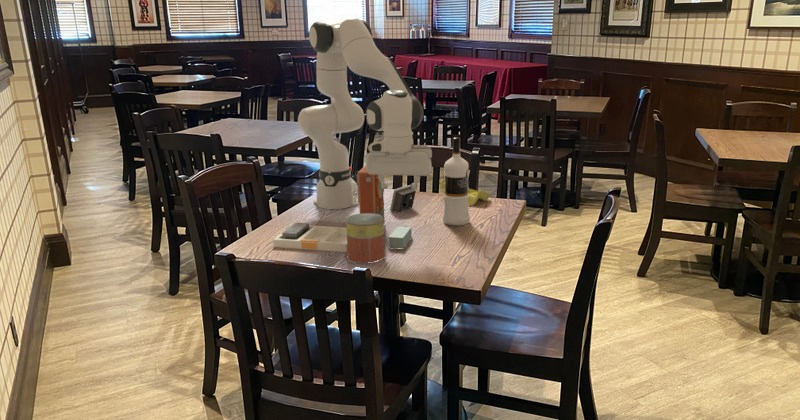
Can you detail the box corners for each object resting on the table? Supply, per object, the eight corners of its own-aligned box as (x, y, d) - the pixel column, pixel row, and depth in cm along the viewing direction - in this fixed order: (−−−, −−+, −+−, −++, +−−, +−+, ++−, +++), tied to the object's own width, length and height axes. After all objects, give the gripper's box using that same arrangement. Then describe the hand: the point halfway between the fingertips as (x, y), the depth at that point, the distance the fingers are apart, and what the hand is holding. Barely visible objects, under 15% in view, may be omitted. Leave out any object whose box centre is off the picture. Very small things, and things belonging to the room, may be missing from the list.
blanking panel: (398, 237, 197) (398, 226, 196) (411, 238, 196) (411, 227, 195) (389, 249, 187) (388, 237, 186) (403, 250, 186) (402, 237, 185)
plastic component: (491, 195, 236) (479, 189, 229) (485, 212, 236) (472, 207, 229) (452, 183, 249) (439, 177, 241) (446, 200, 249) (433, 195, 241)
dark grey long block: (297, 233, 201) (296, 222, 200) (309, 234, 200) (308, 223, 199) (283, 244, 191) (282, 233, 190) (296, 245, 190) (295, 233, 189)
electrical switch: (406, 206, 232) (407, 183, 229) (416, 209, 229) (417, 186, 226) (389, 212, 225) (390, 188, 222) (399, 215, 222) (400, 191, 219)
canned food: (367, 247, 188) (365, 210, 185) (393, 255, 181) (391, 217, 177) (339, 257, 181) (337, 219, 177) (365, 266, 173) (363, 227, 170)
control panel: (387, 222, 212) (377, 236, 198) (368, 222, 214) (356, 235, 200) (385, 163, 206) (374, 173, 192) (365, 162, 208) (353, 172, 194)
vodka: (449, 217, 217) (449, 134, 208) (473, 220, 212) (474, 136, 204) (438, 224, 209) (438, 138, 200) (463, 228, 204) (463, 140, 196)
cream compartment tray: (293, 232, 204) (293, 223, 203) (362, 237, 198) (361, 227, 197) (273, 248, 190) (272, 238, 189) (346, 253, 184) (346, 243, 183)
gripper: (433, 143, 183) (434, 187, 187) (369, 142, 188) (371, 185, 192) (429, 146, 177) (430, 192, 181) (363, 146, 182) (365, 190, 186)
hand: (399, 188), depth 186 cm, fingers open, 8 cm apart
